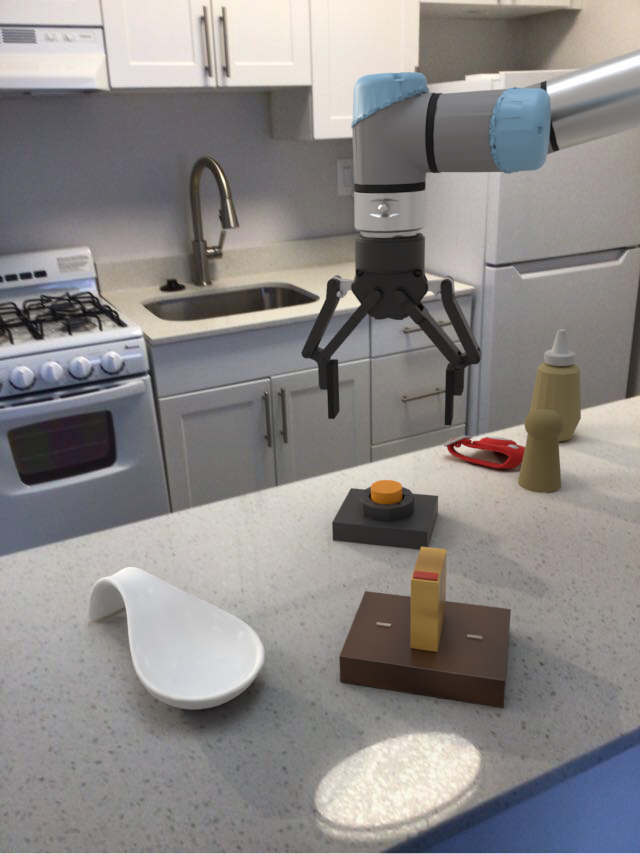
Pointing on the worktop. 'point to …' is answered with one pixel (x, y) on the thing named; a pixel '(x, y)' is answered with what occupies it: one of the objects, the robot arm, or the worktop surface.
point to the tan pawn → (541, 452)
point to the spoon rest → (180, 640)
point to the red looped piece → (489, 444)
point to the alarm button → (386, 492)
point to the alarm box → (386, 520)
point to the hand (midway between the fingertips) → (390, 418)
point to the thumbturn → (428, 598)
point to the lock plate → (427, 670)
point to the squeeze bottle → (559, 385)
